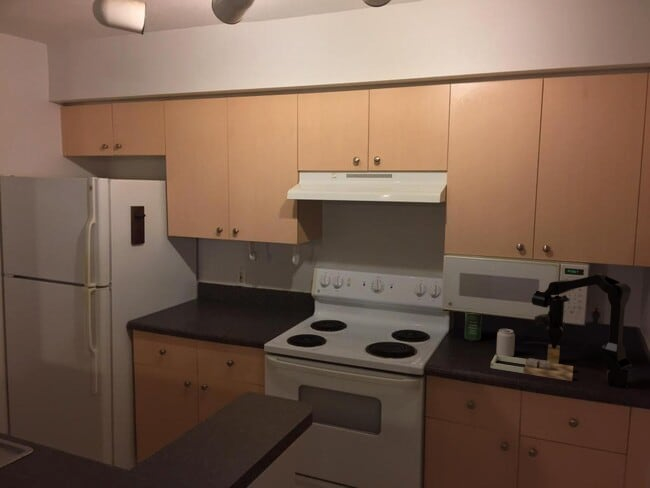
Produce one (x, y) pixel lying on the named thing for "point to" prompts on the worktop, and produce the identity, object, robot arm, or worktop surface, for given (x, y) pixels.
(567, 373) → the slot board
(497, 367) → the tray
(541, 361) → the chip
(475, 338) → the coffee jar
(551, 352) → the yellow wooden block
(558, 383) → the worktop surface
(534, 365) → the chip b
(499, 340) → the can
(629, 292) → the robot arm
